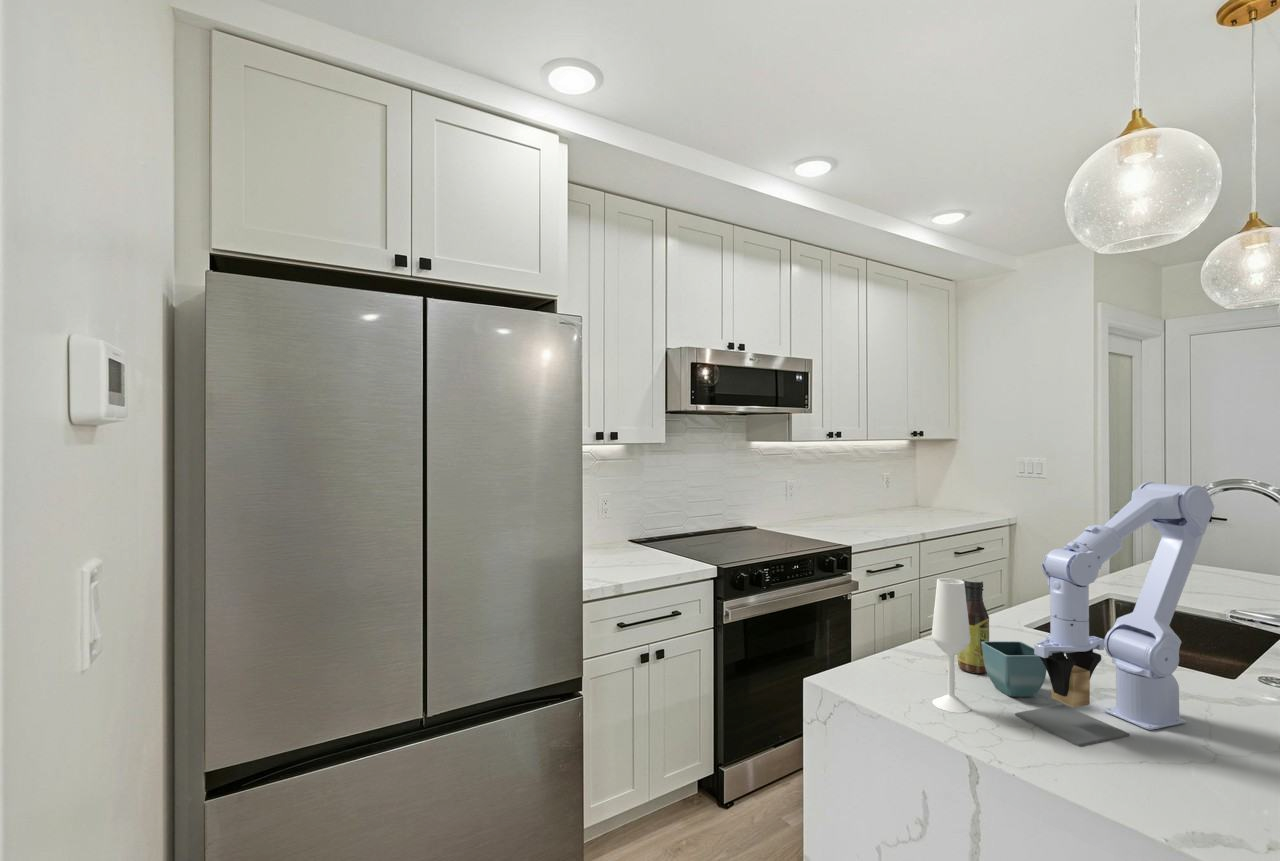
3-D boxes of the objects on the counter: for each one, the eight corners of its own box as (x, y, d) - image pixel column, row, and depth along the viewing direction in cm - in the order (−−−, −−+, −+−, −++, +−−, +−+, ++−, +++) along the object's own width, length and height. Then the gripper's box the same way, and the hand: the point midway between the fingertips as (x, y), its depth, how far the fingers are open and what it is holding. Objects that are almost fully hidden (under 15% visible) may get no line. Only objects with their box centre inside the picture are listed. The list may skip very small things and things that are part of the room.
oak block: (1067, 695, 112) (1068, 662, 112) (1089, 704, 108) (1089, 670, 108) (1051, 698, 111) (1051, 665, 111) (1072, 707, 107) (1073, 673, 107)
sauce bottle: (987, 677, 131) (986, 585, 132) (955, 670, 135) (954, 581, 135) (991, 668, 137) (990, 579, 137) (960, 662, 140) (960, 575, 141)
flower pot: (1021, 683, 128) (1020, 640, 129) (1050, 701, 120) (1050, 655, 120) (980, 683, 128) (979, 641, 128) (1006, 701, 119) (1006, 656, 119)
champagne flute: (932, 695, 122) (932, 575, 123) (970, 702, 119) (970, 579, 120) (931, 708, 117) (930, 582, 117) (971, 715, 113) (970, 586, 114)
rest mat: (1062, 706, 117) (1062, 704, 117) (1129, 735, 106) (1129, 733, 106) (1015, 715, 114) (1015, 712, 114) (1078, 746, 102) (1078, 743, 102)
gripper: (1077, 607, 116) (1077, 679, 116) (1018, 614, 112) (1019, 688, 111) (1115, 618, 109) (1116, 694, 109) (1055, 625, 105) (1055, 704, 105)
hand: (1069, 692), depth 110 cm, fingers closed on oak block, 4 cm apart
